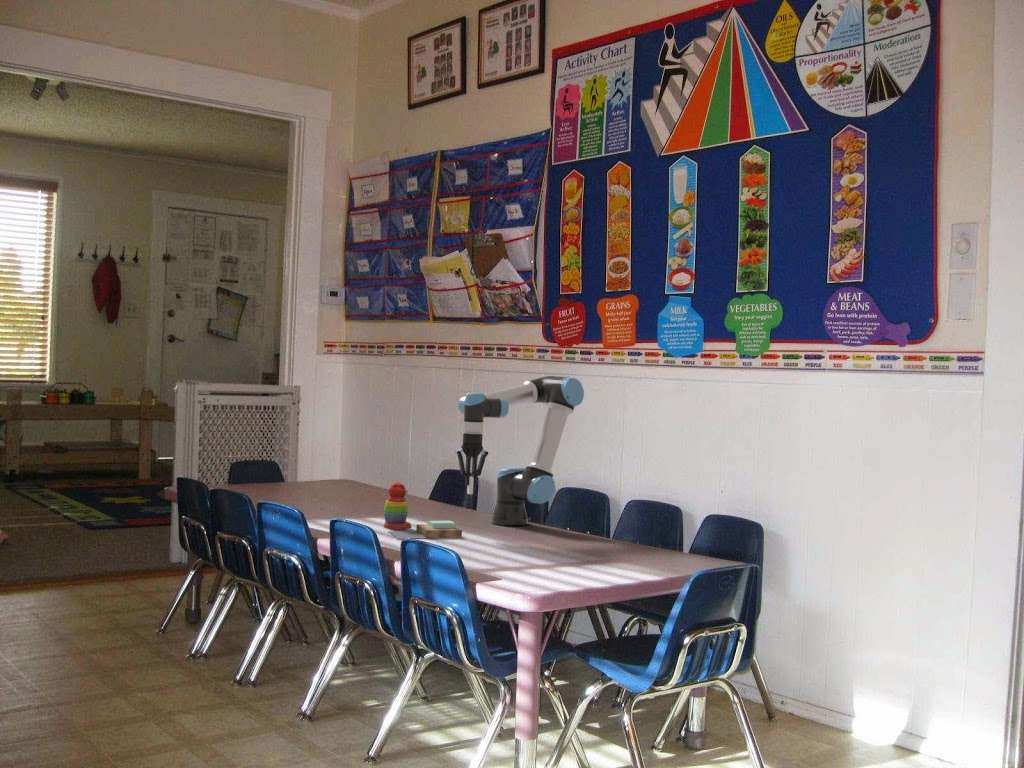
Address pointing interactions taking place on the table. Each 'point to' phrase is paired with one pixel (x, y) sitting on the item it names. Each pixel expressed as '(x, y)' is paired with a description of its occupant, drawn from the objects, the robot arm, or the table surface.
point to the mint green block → (441, 524)
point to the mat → (406, 534)
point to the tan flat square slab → (438, 532)
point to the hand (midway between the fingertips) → (469, 493)
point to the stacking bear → (396, 508)
